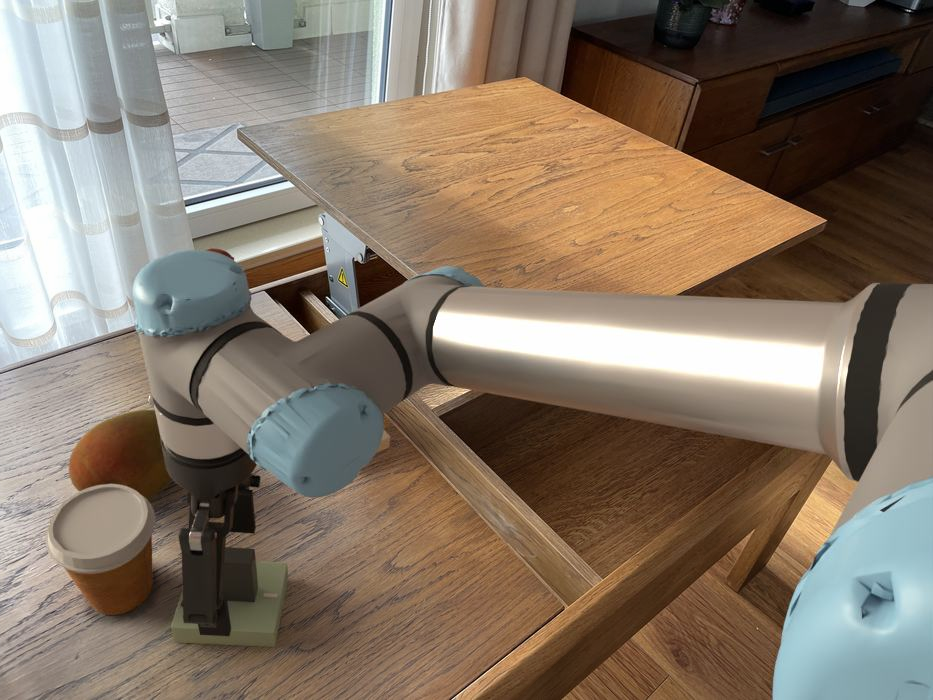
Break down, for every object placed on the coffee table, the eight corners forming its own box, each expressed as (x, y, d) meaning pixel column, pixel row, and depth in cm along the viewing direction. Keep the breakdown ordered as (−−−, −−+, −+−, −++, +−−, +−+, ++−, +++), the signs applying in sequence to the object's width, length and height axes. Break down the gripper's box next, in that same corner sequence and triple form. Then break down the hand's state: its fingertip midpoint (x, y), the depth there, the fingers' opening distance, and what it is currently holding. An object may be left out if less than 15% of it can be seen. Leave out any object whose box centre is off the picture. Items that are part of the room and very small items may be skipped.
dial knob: (258, 586, 75) (254, 547, 70) (254, 602, 73) (250, 563, 69) (209, 584, 74) (202, 543, 69) (204, 599, 73) (197, 559, 68)
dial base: (289, 573, 80) (288, 556, 78) (273, 653, 73) (272, 637, 71) (197, 567, 79) (193, 551, 77) (172, 648, 72) (168, 632, 70)
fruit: (66, 519, 81) (45, 462, 74) (106, 437, 90) (90, 379, 84) (172, 526, 82) (160, 470, 76) (200, 444, 92) (192, 388, 85)
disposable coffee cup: (52, 587, 75) (22, 518, 67) (137, 533, 81) (119, 464, 73) (101, 649, 71) (75, 583, 63) (187, 587, 77) (173, 520, 69)
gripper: (199, 333, 66) (219, 483, 80) (109, 549, 48) (155, 693, 63) (282, 340, 67) (287, 488, 81) (223, 556, 49) (242, 697, 63)
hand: (229, 577), depth 72 cm, fingers open, 11 cm apart
